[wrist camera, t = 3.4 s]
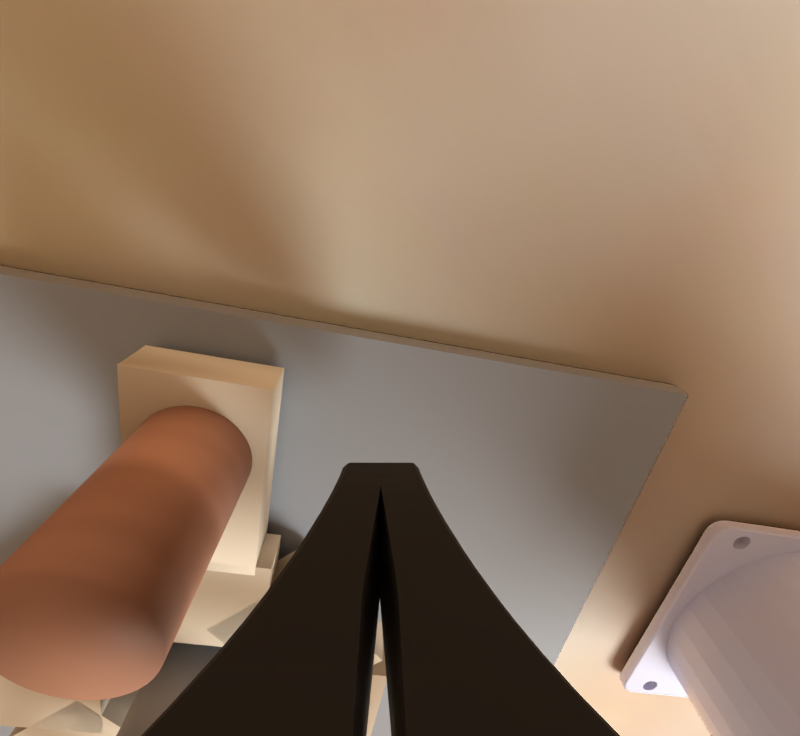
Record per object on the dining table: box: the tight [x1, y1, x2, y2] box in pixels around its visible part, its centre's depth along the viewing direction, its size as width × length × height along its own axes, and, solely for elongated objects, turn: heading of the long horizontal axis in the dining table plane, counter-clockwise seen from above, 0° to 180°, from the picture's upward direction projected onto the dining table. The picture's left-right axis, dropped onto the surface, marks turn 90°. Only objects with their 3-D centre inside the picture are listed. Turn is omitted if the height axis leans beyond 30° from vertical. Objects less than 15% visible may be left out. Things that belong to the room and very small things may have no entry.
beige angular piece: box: [0, 345, 387, 736], centre depth 11 cm, size 17×12×6 cm
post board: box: [0, 266, 688, 736], centre depth 13 cm, size 24×24×5 cm
